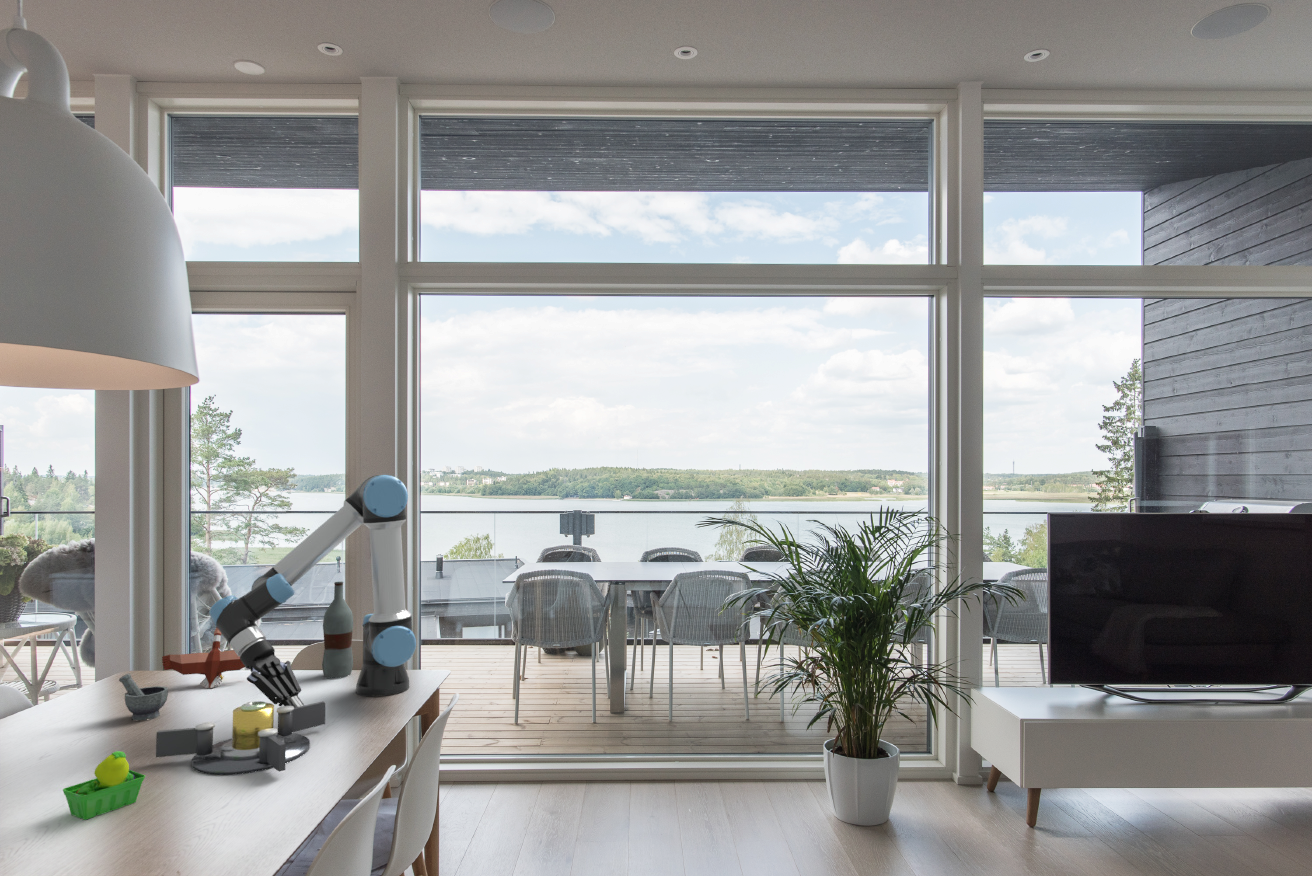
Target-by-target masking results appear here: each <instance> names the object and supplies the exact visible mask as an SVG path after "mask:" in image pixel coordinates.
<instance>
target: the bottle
mask: <svg viewBox="0 0 1312 876" xmlns="http://www.w3.org/2000/svg"><path fill="white" fill-rule="evenodd" d="M333 584H334V592H333V594H334V596H333V600H332V601H331V603H330V604H329V607H328V608H326V611H325V612H324V615H323V620H322V631H323V646H324V647H323V648H324V651H323V655H322V662H321V666H322V673H323V677H324V678H325V679H341V678H346V677H349V676H351V675H352V672H353V666H354V658H353V657H354V656H353V649H352V642H353V641H352V640H353V639H352V638H353V631H354V629H353V628H354V615H353V611H352V609H351V608H350V606H349V605H348V603H347V602H346V600H345V599H344V581H334V583H333ZM348 675H349V676H348ZM340 677H341V678H340Z"/></svg>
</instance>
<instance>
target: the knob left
mask: <svg viewBox="0 0 1312 876" xmlns="http://www.w3.org/2000/svg"><path fill="white" fill-rule="evenodd" d="M277 732H278V728H269V729H264V730H261V731H259V732H258V736H260V741H259V762H261V763H267V762H268V763H269V764H270V765H271V766H273V768H274V769H275V770H277V771H278V772H283V771H286V764H285V755H286V744H285V743H284V742H282V741H281V740H279V739H278V738H277V737H276V734H277Z"/></svg>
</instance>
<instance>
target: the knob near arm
mask: <svg viewBox="0 0 1312 876" xmlns="http://www.w3.org/2000/svg"><path fill="white" fill-rule="evenodd" d="M276 713H277V732H278V735H281V736H289V735H291V734H292V733H295V732H299V731H302V730H303V731H304V730H306V729H307V730H308V729H311V728H316V727H319V726H323V725H326V701H324V700H323V701H318V702H314V703H310V704H304V706H300V707H296V708H294V706H284V705H282V706H279V707H277V708H276Z"/></svg>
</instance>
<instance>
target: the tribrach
mask: <svg viewBox="0 0 1312 876" xmlns="http://www.w3.org/2000/svg"><path fill="white" fill-rule="evenodd" d="M274 715H275V704H274V703H272V702H271V703H270V702H266V701H259V700H258V701H252V702H251V701H249V702H246V703H243V704H242V705H241V706H237V707H235V708H234V709H233V710H232V736H231V737H232V738H229V739H226V740H223V741H219V742H217V743H213V752H212V753H211V754H208V755H202V756H198V755H196V754H194V756H193V757H192V759H191V767H192V769H193V770H194V771H196V772H198V773H201V774H205V775H214V776H220V775H221V776H230V775H233V776H234V775H243V774H249V772H250V773H256V772H261V771H265V769H266V770H268V769H269V768H270V769H273V768H274V767H273V766H271V765H270V764H269V763H268V762H267V763H261V762H259V741H260V736H258V732H259V731H261V730H264V729H269V728H274V727H275V726H274V718H275V717H274ZM276 737H277V738H278V739H279V740H281V741H282V742H284V743H285V744H286V755H285V763H286V764H288V763H291V762H292V761H295V760H297V759H299V758H301V757H302V756H304V755H305V754H307V752H309V750H310V746H311V743H310V742H311V741H310V738H309V737H307V736H305V735H304V734H299V733H295V732H292V734H291V735H289V736H281V735H278V731H277V734H276ZM303 754H304V755H303ZM300 756H301V757H300ZM290 761H291V762H290ZM287 762H288V763H287ZM270 769H269V770H270ZM255 771H256V772H255ZM242 773H243V774H242Z"/></svg>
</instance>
